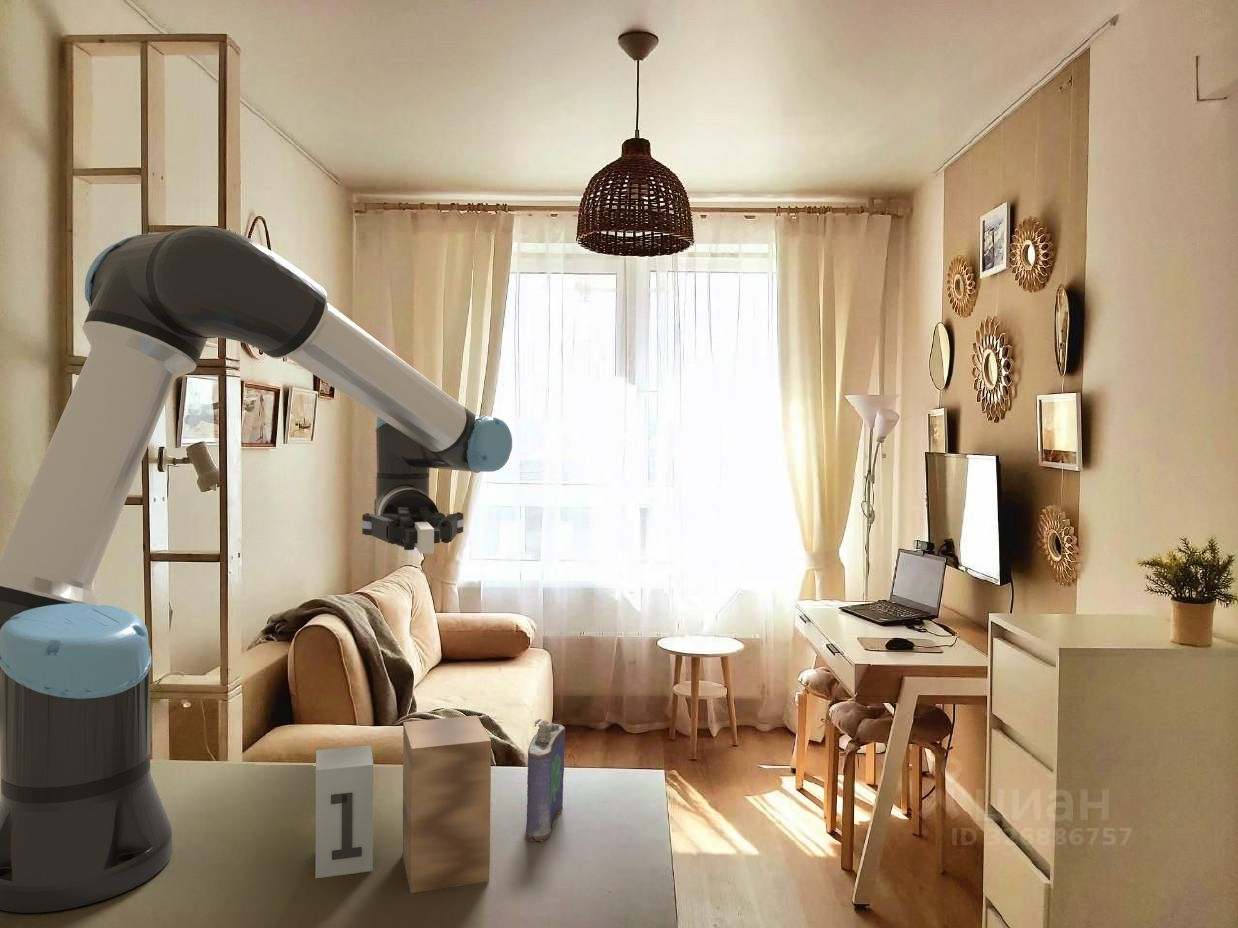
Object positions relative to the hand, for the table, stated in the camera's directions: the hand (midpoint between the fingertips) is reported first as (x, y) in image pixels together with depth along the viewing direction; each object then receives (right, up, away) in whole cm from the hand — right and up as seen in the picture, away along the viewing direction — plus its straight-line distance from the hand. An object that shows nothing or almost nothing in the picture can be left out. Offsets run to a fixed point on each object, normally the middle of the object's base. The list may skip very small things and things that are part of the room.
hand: (427, 541), depth 99 cm
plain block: (+5, -29, -16) cm, 33 cm away
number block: (-5, -29, -15) cm, 33 cm away
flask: (+13, -29, -6) cm, 32 cm away
